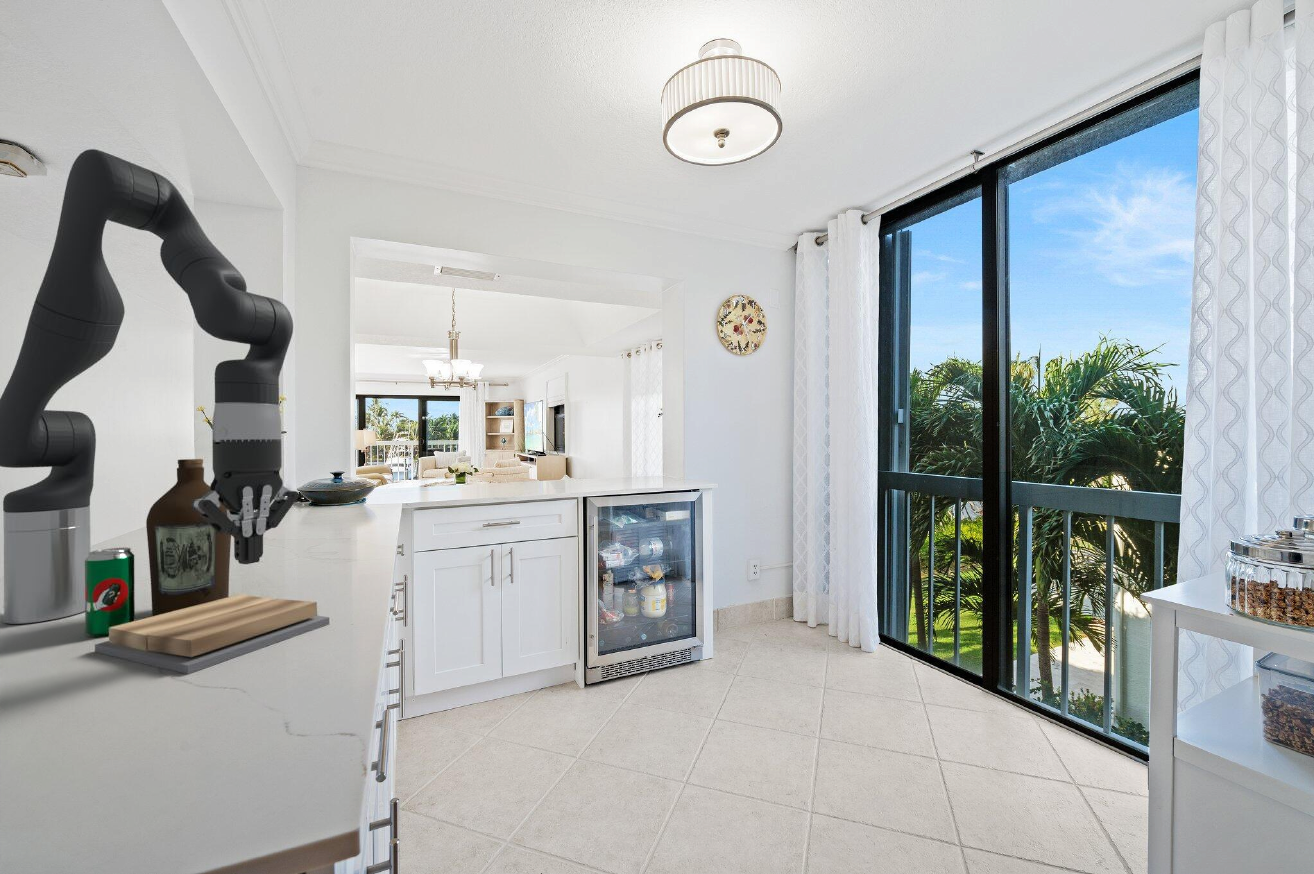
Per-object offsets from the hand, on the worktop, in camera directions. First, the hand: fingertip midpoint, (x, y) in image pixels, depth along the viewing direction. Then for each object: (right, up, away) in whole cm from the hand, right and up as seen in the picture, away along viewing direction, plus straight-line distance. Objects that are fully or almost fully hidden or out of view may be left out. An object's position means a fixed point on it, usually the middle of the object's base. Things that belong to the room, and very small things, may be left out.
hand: (248, 562), depth 72 cm
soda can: (-24, -12, +5) cm, 27 cm away
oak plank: (-10, -11, +4) cm, 16 cm away
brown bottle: (-21, -12, +14) cm, 28 cm away
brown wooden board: (-2, -10, +1) cm, 10 cm away
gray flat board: (-6, -11, +2) cm, 13 cm away
